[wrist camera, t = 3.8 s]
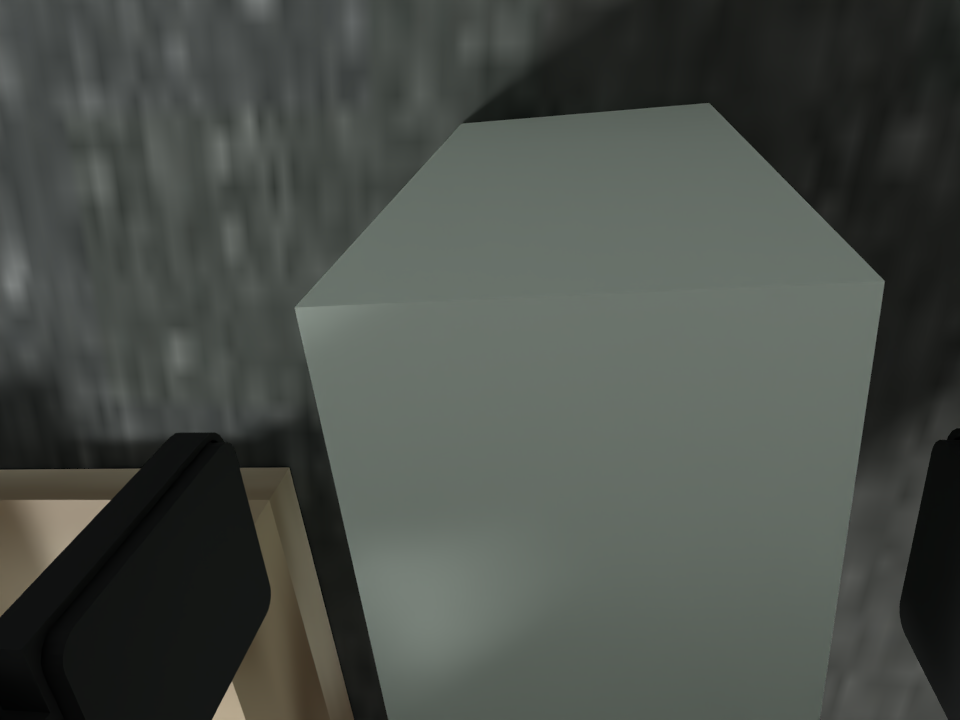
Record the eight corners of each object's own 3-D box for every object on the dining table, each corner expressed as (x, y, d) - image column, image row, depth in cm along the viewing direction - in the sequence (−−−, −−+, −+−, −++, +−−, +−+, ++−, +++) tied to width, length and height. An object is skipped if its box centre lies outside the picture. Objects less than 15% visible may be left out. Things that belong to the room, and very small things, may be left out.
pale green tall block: (461, 123, 11) (294, 306, 5) (708, 102, 10) (885, 281, 4) (507, 548, 14) (445, 972, 8) (693, 550, 14) (776, 1008, 8)
